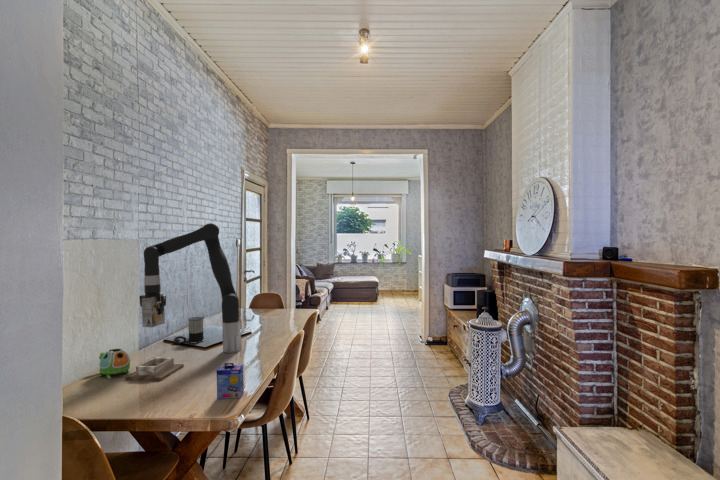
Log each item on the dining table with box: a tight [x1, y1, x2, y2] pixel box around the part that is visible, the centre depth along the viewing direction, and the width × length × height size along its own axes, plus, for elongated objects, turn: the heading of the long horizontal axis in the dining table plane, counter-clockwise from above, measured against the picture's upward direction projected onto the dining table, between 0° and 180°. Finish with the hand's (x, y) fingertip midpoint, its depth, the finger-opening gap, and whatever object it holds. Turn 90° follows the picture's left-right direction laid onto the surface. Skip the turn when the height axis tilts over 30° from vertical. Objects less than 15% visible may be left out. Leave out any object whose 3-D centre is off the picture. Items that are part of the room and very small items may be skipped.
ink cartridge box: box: [215, 362, 245, 400], centre depth 155 cm, size 10×6×14 cm, turn 95°
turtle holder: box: [98, 347, 131, 380], centre depth 183 cm, size 12×18×12 cm
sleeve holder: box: [124, 357, 185, 382], centre depth 183 cm, size 18×18×6 cm
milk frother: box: [173, 316, 205, 345], centre depth 235 cm, size 14×16×15 cm
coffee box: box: [141, 293, 166, 329], centre depth 198 cm, size 9×6×16 cm
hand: (153, 314), depth 198 cm, fingers closed on coffee box, 6 cm apart
